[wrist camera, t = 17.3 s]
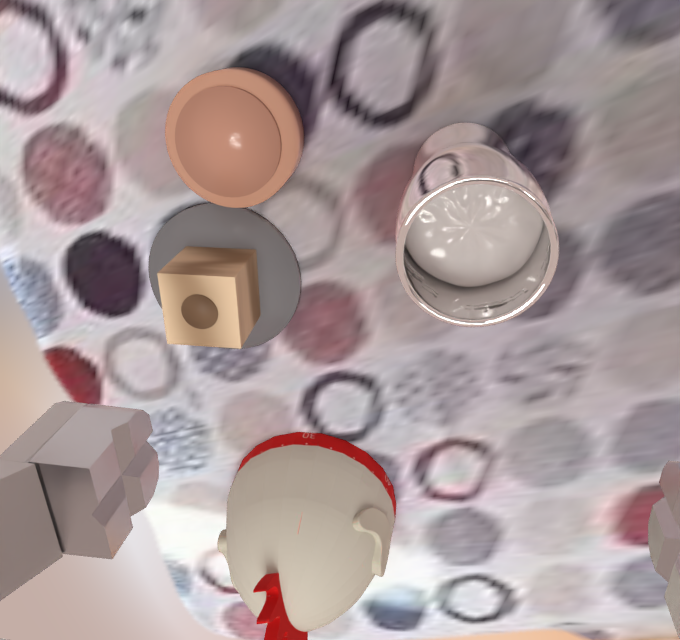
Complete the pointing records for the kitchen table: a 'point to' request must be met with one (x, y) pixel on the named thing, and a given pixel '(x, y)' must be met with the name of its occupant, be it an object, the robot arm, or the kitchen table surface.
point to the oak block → (210, 296)
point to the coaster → (239, 233)
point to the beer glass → (473, 230)
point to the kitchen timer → (306, 530)
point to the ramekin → (234, 136)
